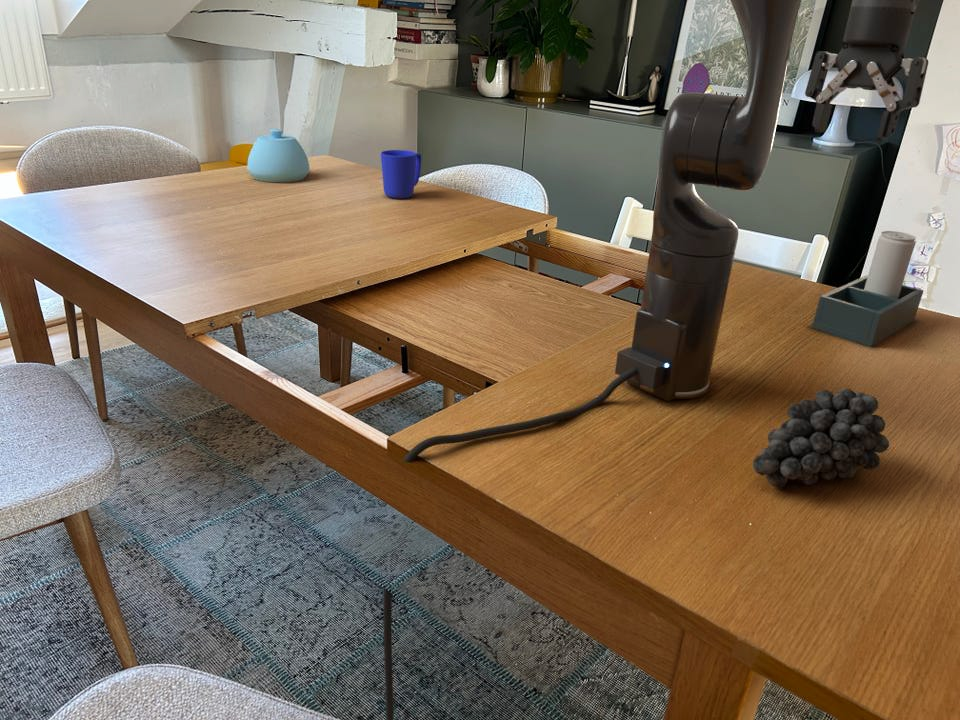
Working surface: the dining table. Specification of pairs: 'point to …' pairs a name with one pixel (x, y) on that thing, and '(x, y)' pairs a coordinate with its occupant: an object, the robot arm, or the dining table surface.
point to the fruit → (824, 439)
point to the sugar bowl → (277, 158)
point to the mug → (400, 172)
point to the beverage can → (890, 263)
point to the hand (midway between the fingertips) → (849, 136)
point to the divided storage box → (865, 312)
